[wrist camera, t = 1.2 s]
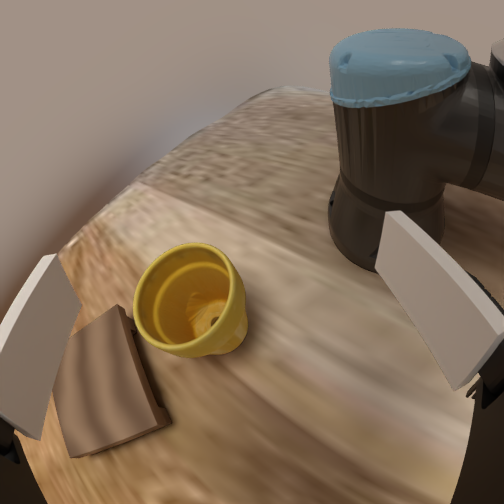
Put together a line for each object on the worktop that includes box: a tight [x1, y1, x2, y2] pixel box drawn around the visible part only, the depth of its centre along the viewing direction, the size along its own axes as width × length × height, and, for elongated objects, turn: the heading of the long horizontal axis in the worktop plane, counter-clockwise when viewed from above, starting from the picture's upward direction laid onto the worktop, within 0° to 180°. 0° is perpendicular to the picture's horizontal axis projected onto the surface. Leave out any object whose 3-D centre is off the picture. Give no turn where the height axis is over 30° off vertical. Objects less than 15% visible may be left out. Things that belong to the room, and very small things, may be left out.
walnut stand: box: [52, 304, 172, 458], centre depth 28 cm, size 16×16×4 cm
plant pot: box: [133, 243, 248, 358], centre depth 27 cm, size 10×10×10 cm
